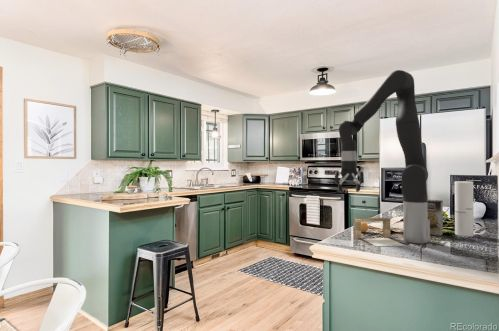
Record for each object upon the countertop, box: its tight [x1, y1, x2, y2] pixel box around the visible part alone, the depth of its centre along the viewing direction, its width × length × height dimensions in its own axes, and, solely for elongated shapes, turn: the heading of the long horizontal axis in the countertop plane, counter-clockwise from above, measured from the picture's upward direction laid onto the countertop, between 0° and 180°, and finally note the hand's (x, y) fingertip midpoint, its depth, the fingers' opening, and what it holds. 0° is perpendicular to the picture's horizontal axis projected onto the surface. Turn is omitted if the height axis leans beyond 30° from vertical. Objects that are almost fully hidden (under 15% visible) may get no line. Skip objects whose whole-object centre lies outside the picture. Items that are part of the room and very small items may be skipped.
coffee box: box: [427, 199, 444, 236], centre depth 145 cm, size 9×6×16 cm
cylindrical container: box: [454, 180, 475, 238], centre depth 142 cm, size 7×7×25 cm
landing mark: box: [362, 237, 405, 247], centre depth 129 cm, size 12×12×1 cm
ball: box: [361, 222, 369, 233], centre depth 149 cm, size 5×5×5 cm
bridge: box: [353, 217, 391, 240], centre depth 138 cm, size 3×16×9 cm, turn 96°
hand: (349, 191), depth 154 cm, fingers open, 8 cm apart
